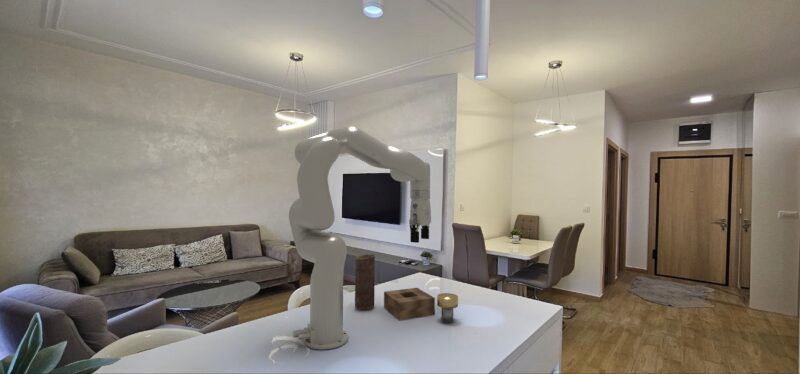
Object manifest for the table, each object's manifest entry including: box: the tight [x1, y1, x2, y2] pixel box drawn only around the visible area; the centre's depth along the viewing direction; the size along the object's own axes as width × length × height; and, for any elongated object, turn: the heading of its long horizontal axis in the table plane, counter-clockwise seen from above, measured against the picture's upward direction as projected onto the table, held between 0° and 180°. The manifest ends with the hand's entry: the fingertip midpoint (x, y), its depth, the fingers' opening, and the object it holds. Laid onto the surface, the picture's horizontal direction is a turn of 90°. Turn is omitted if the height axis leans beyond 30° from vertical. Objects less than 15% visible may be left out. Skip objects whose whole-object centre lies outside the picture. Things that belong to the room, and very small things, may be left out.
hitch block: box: [383, 287, 436, 321], centre depth 128 cm, size 14×14×6 cm
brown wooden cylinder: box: [354, 253, 376, 310], centre depth 130 cm, size 8×7×20 cm
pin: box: [436, 292, 459, 324], centre depth 118 cm, size 7×7×8 cm
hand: (420, 240), depth 131 cm, fingers open, 9 cm apart
